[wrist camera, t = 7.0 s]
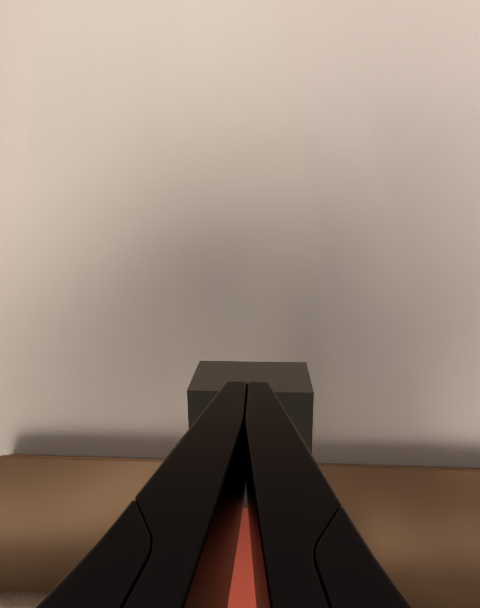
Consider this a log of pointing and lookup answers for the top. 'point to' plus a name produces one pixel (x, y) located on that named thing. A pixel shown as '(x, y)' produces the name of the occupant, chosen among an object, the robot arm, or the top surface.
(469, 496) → the walnut board
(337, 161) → the top surface
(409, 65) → the top surface
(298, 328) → the top surface
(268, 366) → the lever
